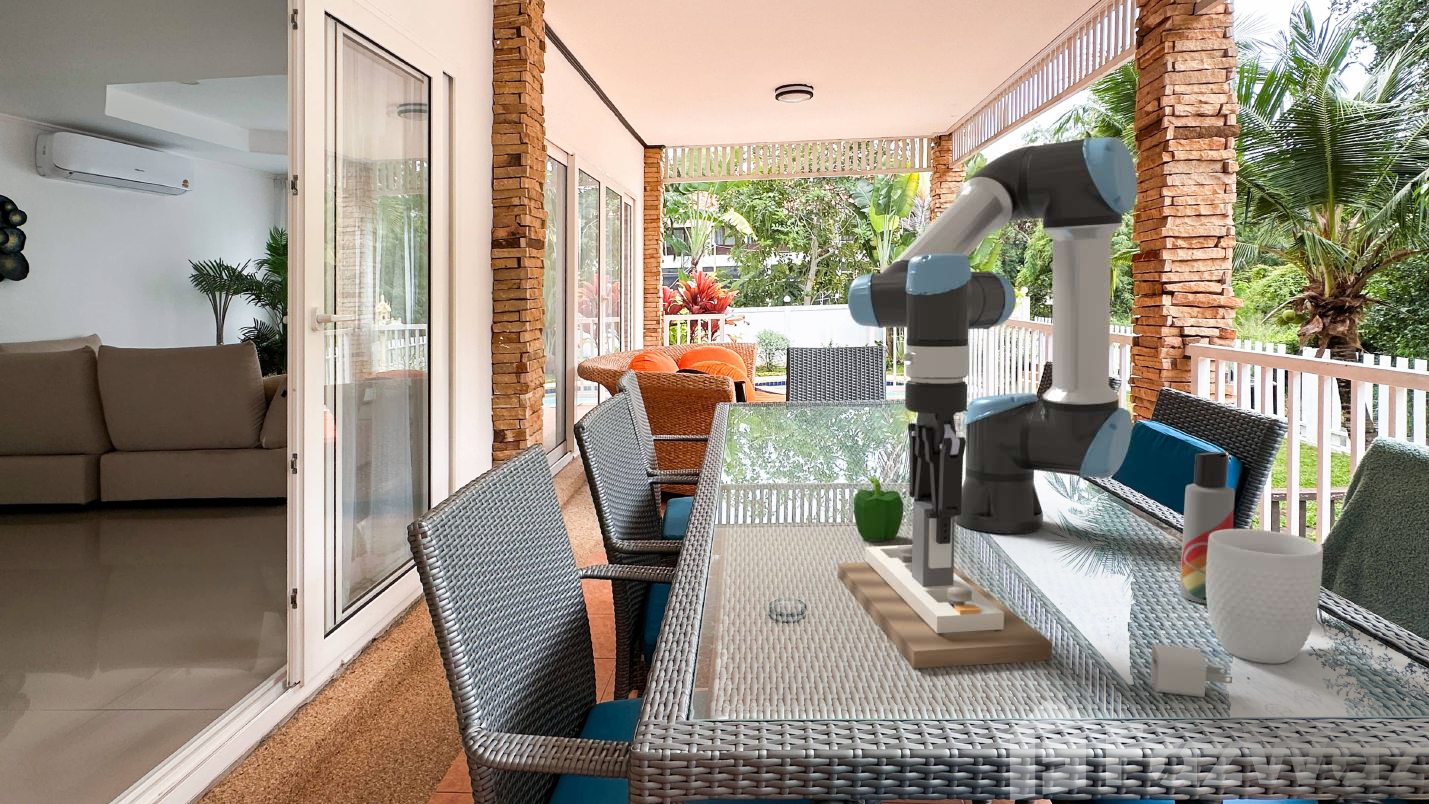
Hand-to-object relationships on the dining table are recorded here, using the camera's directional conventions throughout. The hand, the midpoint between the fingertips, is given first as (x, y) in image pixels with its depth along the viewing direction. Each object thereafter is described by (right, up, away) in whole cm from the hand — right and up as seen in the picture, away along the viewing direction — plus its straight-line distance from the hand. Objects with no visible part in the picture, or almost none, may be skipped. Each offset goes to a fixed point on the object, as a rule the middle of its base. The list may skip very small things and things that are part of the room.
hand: (932, 560), depth 112 cm
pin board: (0, -7, +1) cm, 7 cm away
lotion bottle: (+38, -6, +5) cm, 39 cm away
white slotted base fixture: (0, -4, +3) cm, 5 cm away
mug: (+35, -8, -12) cm, 38 cm away
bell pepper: (0, -3, +36) cm, 36 cm away
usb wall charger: (+21, -10, -21) cm, 32 cm away
